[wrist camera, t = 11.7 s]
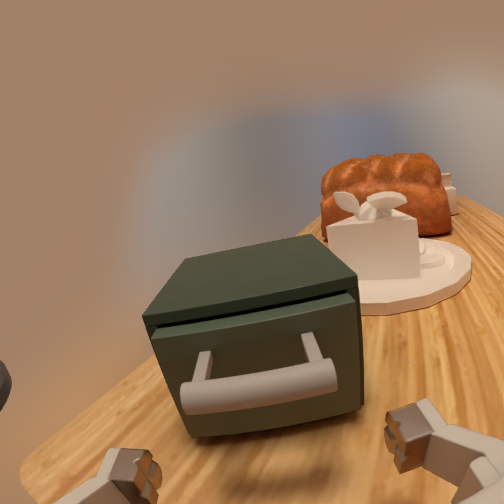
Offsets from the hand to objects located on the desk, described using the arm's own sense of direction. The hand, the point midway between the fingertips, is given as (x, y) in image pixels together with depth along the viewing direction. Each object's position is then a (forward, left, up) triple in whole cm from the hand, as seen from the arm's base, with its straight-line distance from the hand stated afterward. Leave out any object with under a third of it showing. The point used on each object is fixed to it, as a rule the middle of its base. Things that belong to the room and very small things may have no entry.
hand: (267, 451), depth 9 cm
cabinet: (-3, +14, -6) cm, 15 cm away
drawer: (-2, +10, -5) cm, 11 cm away
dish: (+10, +33, -6) cm, 35 cm away
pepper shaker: (+35, +63, -6) cm, 72 cm away
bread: (+18, +55, -6) cm, 58 cm away
